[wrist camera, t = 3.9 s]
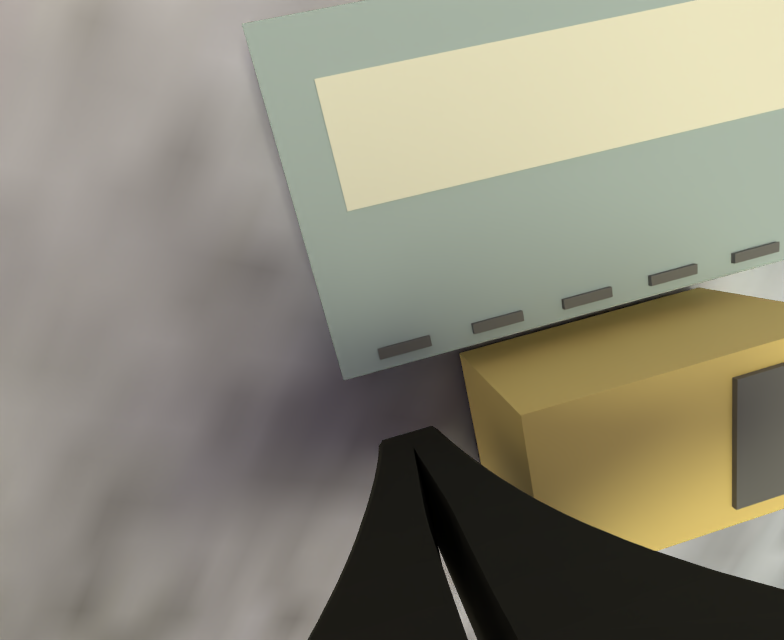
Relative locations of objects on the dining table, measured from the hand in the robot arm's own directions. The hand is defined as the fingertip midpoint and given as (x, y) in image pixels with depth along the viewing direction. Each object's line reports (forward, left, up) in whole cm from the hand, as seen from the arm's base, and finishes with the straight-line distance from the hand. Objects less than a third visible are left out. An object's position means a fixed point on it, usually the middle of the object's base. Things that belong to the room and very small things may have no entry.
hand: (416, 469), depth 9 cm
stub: (+5, 0, -2) cm, 6 cm away
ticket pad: (+6, +6, -2) cm, 9 cm away
